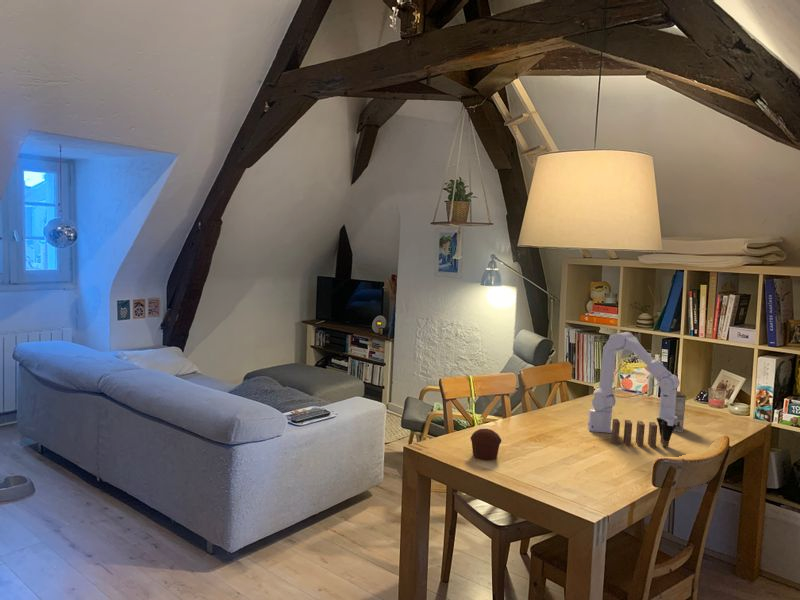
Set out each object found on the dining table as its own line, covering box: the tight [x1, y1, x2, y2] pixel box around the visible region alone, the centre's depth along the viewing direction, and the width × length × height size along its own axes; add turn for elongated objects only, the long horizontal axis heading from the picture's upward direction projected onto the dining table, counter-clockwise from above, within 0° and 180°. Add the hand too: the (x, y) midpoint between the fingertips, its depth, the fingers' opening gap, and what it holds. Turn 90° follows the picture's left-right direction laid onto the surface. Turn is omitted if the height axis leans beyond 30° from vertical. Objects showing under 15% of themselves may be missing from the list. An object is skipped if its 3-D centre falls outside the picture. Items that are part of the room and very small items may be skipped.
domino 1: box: [610, 418, 621, 445], centre depth 258 cm, size 2×5×9 cm, turn 170°
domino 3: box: [635, 420, 646, 447], centre depth 256 cm, size 2×5×9 cm, turn 170°
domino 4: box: [647, 421, 658, 448], centre depth 255 cm, size 2×5×9 cm, turn 170°
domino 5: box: [660, 420, 670, 447], centre depth 255 cm, size 2×5×9 cm, turn 170°
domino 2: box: [622, 419, 633, 446], centre depth 257 cm, size 2×5×9 cm, turn 170°
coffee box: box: [673, 390, 687, 433], centre depth 280 cm, size 9×6×16 cm
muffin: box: [470, 428, 502, 461], centre depth 235 cm, size 12×11×10 cm
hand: (664, 438), depth 255 cm, fingers closed on domino 5, 5 cm apart
